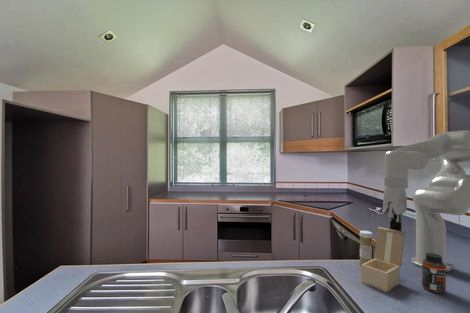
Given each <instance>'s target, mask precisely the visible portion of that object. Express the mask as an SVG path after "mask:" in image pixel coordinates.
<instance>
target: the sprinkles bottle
mask: <svg viewBox="0 0 470 313" xmlns="http://www.w3.org/2000/svg"><path fill="white" fill-rule="evenodd" d="M372 259H373V232H371V231H368V230H360V231H359V266H361V264H364V263H366V262H368V261H370V260H372Z"/></svg>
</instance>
